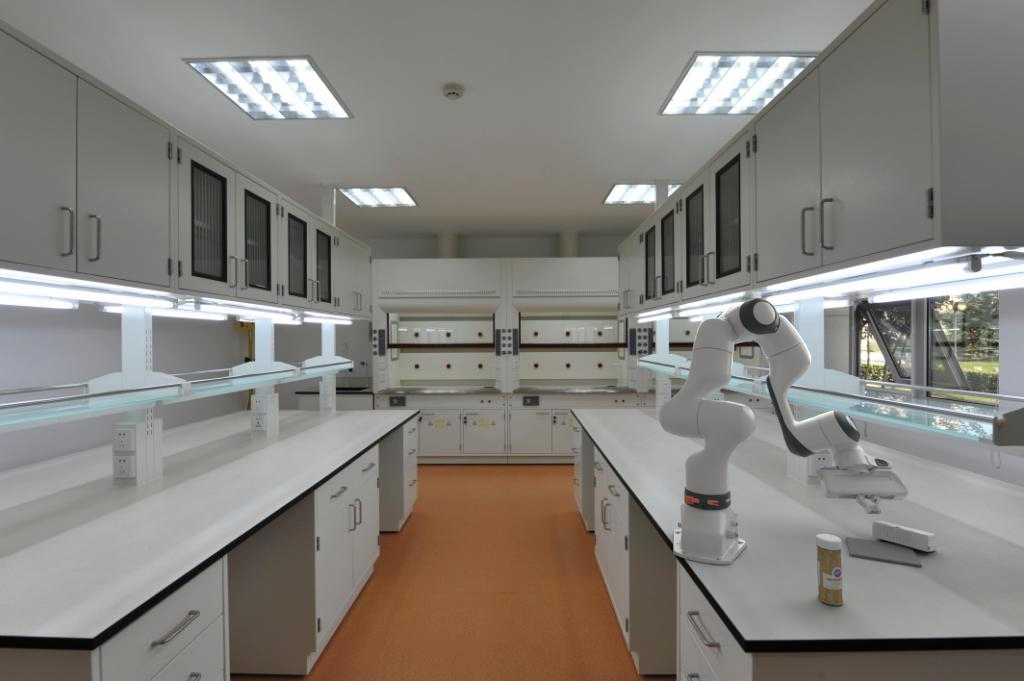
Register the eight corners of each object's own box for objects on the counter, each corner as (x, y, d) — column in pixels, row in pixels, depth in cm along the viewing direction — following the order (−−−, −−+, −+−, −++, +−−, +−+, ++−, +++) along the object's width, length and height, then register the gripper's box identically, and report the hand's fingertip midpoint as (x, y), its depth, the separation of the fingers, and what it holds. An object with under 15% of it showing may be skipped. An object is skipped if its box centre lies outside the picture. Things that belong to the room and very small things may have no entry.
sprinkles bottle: (834, 608, 99) (832, 542, 99) (812, 598, 103) (810, 535, 103) (848, 603, 101) (846, 538, 101) (826, 593, 105) (824, 531, 105)
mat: (921, 567, 116) (921, 564, 116) (850, 556, 123) (850, 553, 123) (910, 548, 126) (910, 546, 126) (845, 538, 133) (845, 536, 133)
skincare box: (880, 520, 135) (936, 532, 125) (880, 536, 134) (936, 550, 124) (871, 521, 132) (928, 533, 122) (871, 538, 131) (928, 552, 121)
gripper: (817, 460, 138) (835, 506, 129) (897, 461, 135) (921, 508, 125) (810, 472, 143) (827, 517, 133) (888, 473, 139) (911, 519, 130)
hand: (874, 513), depth 129 cm, fingers closed
